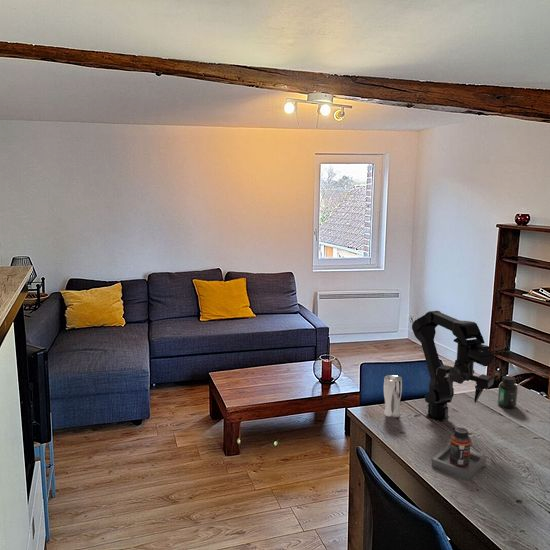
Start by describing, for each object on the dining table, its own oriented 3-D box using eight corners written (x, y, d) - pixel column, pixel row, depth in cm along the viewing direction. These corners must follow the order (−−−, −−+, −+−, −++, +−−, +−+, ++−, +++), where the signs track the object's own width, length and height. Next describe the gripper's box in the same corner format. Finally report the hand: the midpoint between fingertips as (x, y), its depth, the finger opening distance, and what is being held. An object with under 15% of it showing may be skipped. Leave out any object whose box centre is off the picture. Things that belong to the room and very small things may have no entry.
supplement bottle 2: (500, 408, 203) (502, 380, 201) (495, 401, 209) (497, 374, 207) (518, 409, 202) (520, 381, 200) (512, 402, 209) (515, 375, 206)
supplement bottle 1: (465, 470, 157) (467, 436, 155) (446, 463, 161) (448, 430, 159) (471, 462, 162) (473, 429, 160) (452, 456, 166) (454, 423, 164)
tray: (431, 466, 161) (431, 458, 161) (448, 451, 170) (449, 444, 170) (469, 481, 153) (470, 473, 152) (485, 465, 162) (486, 457, 161)
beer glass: (401, 412, 200) (403, 376, 198) (400, 419, 194) (401, 382, 191) (383, 409, 203) (385, 374, 200) (381, 416, 196) (382, 380, 194)
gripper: (430, 356, 179) (428, 398, 182) (482, 369, 166) (479, 413, 169) (444, 349, 187) (442, 389, 190) (495, 361, 174) (492, 403, 177)
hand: (462, 398), depth 181 cm, fingers open, 9 cm apart
